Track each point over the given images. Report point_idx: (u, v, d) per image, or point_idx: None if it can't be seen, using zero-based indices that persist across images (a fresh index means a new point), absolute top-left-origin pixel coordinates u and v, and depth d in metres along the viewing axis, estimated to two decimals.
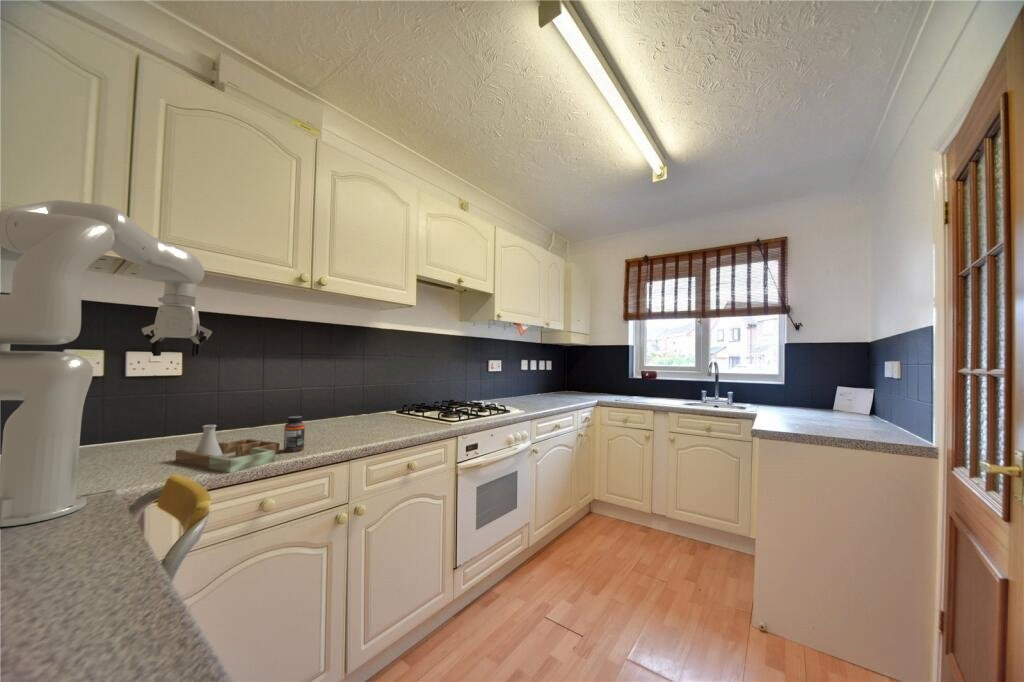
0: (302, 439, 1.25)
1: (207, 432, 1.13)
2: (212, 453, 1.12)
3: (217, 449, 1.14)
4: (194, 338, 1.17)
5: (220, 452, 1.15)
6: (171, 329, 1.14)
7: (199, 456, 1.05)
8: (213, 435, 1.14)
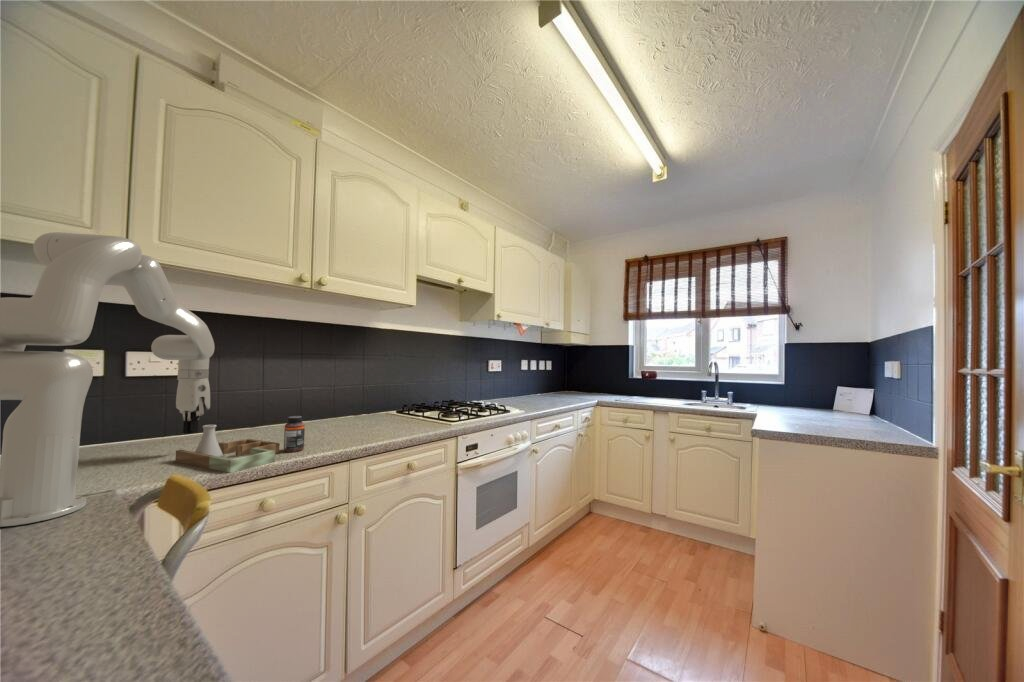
0: (302, 439, 1.25)
1: (207, 432, 1.13)
2: (212, 453, 1.12)
3: (217, 449, 1.14)
4: None
5: (220, 452, 1.15)
6: None
7: (199, 456, 1.05)
8: (213, 435, 1.14)
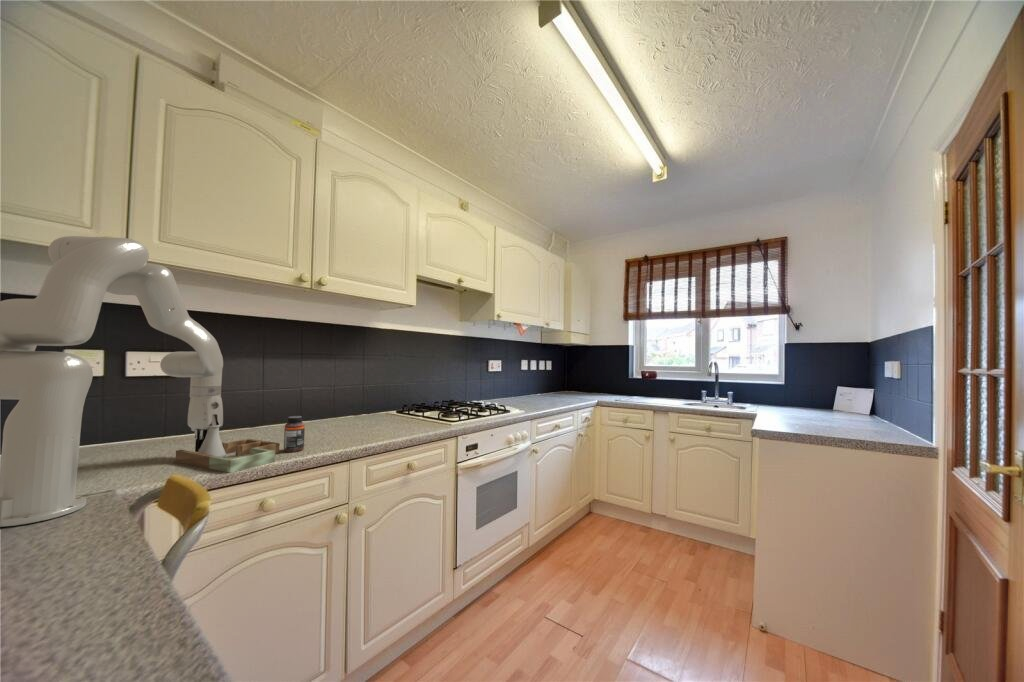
0: (302, 439, 1.25)
1: (211, 432, 1.12)
2: (216, 453, 1.12)
3: (220, 449, 1.14)
4: None
5: (223, 452, 1.15)
6: None
7: (199, 456, 1.05)
8: (217, 435, 1.13)
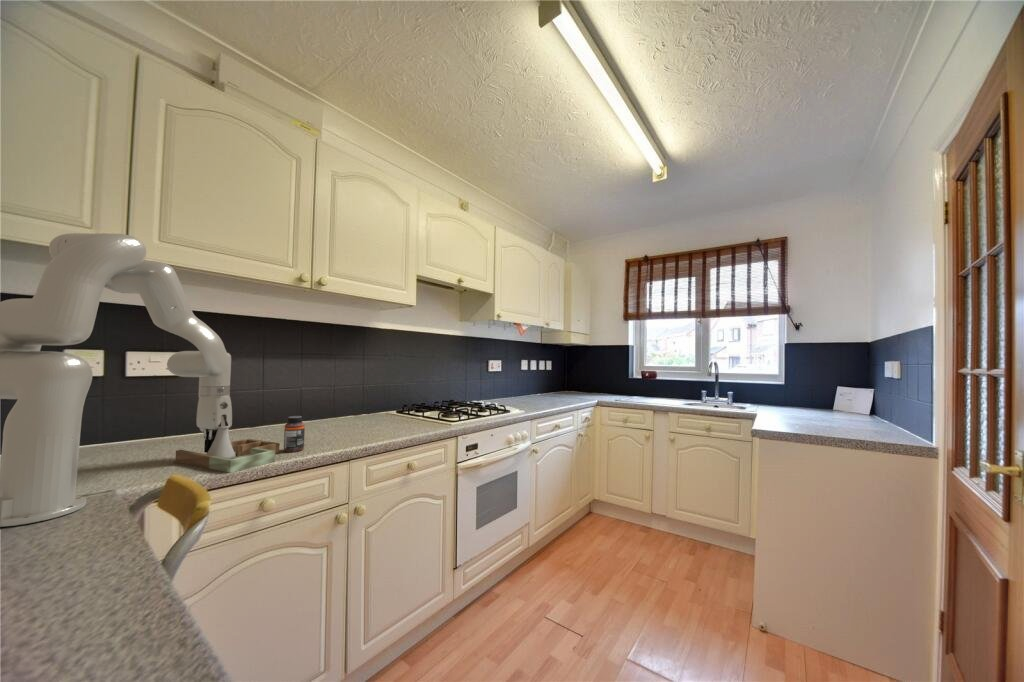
0: (302, 439, 1.25)
1: (221, 433, 1.11)
2: (226, 454, 1.11)
3: (230, 450, 1.13)
4: None
5: (233, 453, 1.14)
6: None
7: (199, 456, 1.05)
8: (227, 436, 1.12)
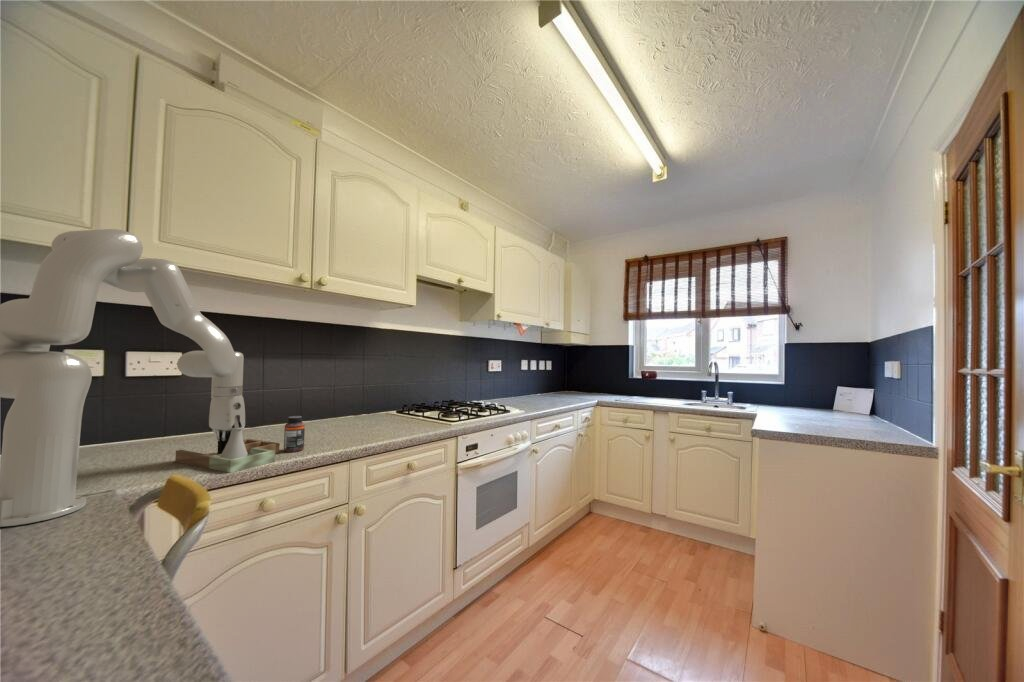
0: (302, 439, 1.25)
1: (235, 434, 1.09)
2: (240, 456, 1.09)
3: (244, 451, 1.11)
4: None
5: (247, 454, 1.12)
6: None
7: (199, 456, 1.05)
8: (241, 437, 1.11)
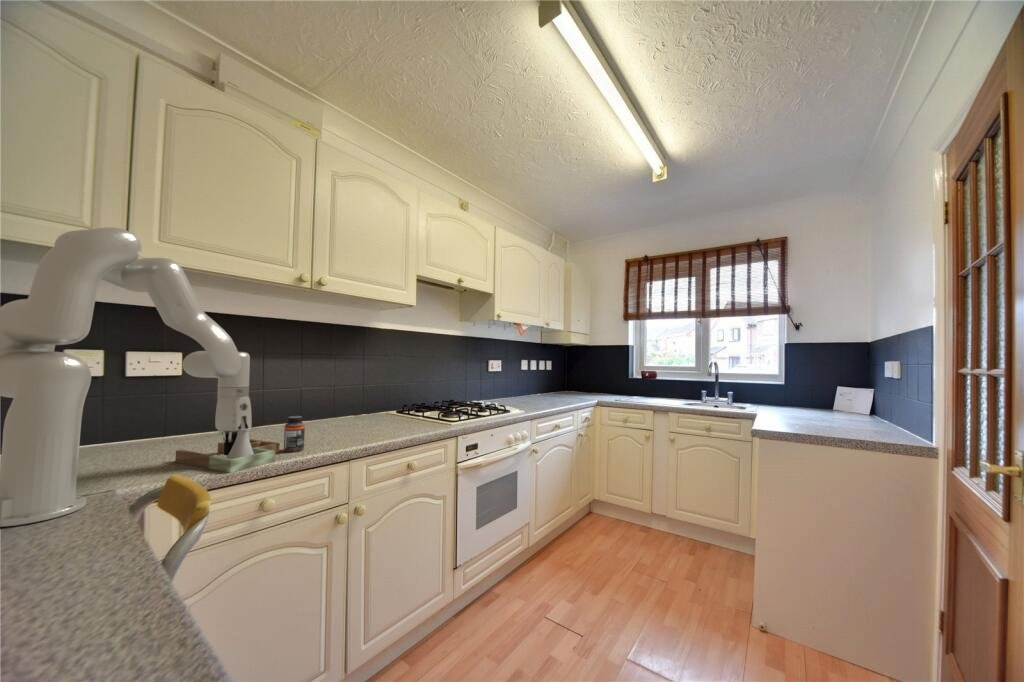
0: (302, 439, 1.25)
1: (242, 435, 1.08)
2: None
3: (250, 453, 1.10)
4: None
5: None
6: None
7: (199, 456, 1.05)
8: (247, 438, 1.09)
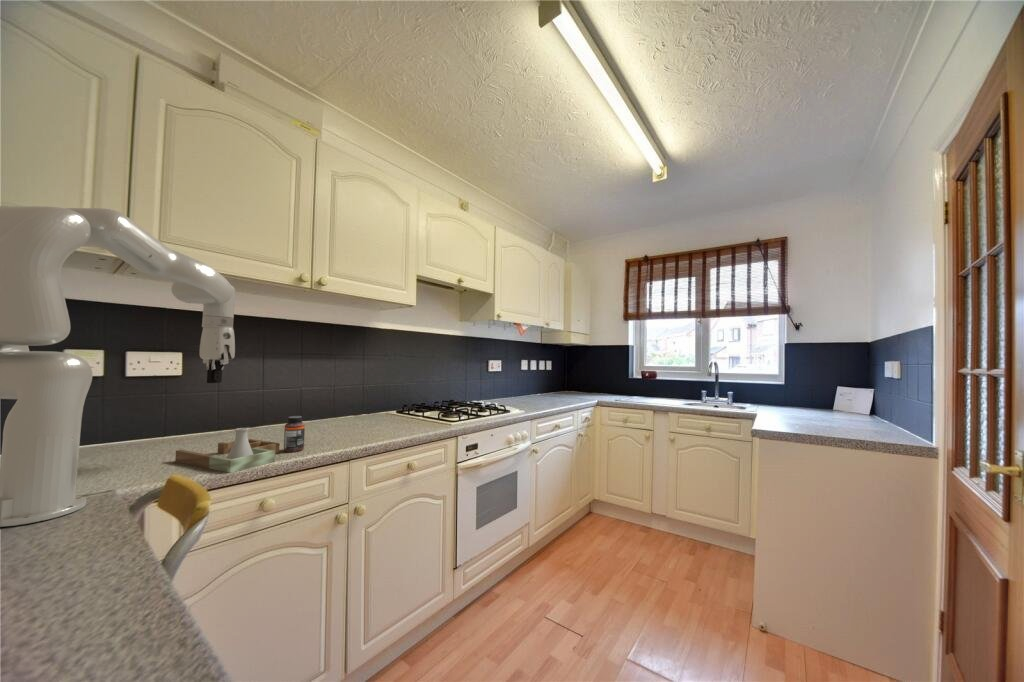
0: (302, 439, 1.25)
1: (241, 436, 1.09)
2: None
3: (250, 453, 1.10)
4: None
5: None
6: None
7: (199, 456, 1.05)
8: (246, 439, 1.10)
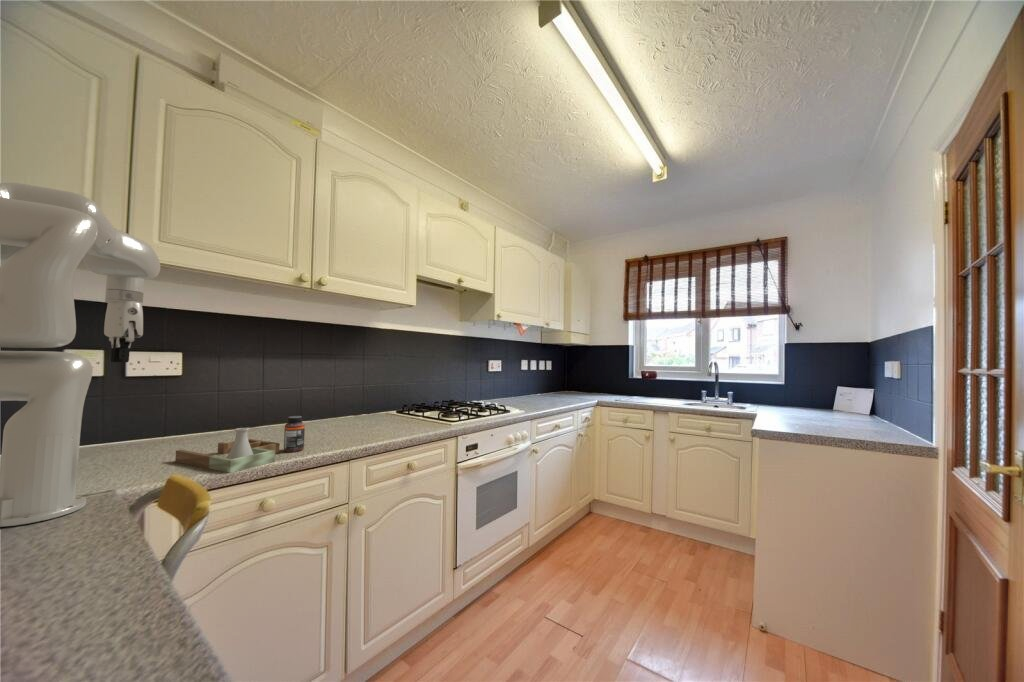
0: (302, 439, 1.25)
1: (241, 436, 1.09)
2: None
3: (250, 453, 1.10)
4: None
5: None
6: None
7: (199, 456, 1.05)
8: (246, 439, 1.10)
